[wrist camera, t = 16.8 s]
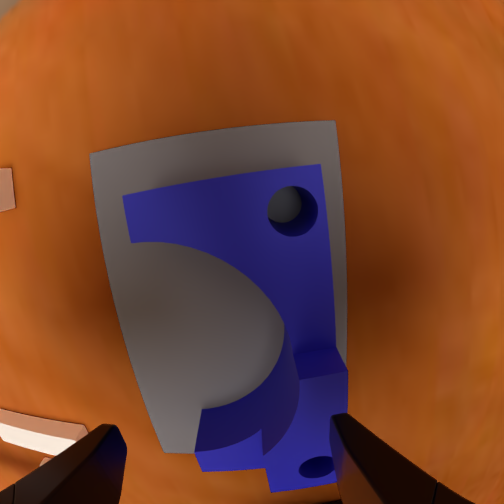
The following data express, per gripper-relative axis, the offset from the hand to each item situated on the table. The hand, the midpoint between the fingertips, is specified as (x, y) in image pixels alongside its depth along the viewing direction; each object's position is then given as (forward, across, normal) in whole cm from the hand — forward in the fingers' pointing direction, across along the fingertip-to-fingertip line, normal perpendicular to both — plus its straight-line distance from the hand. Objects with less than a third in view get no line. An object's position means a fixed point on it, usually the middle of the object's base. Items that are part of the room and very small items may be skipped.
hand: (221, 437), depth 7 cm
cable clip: (+4, -4, 0) cm, 6 cm away
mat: (+7, 0, 0) cm, 7 cm away
